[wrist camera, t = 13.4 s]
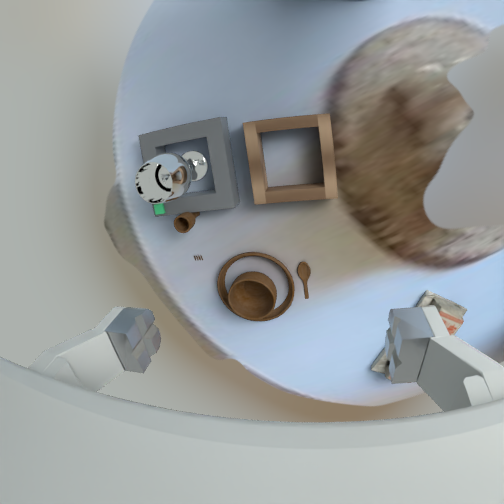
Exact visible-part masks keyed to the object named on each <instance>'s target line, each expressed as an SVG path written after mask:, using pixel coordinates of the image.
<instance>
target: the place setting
mask: <svg viewBox="0 0 504 504" xmlns="http://www.w3.org/2000/svg"><path fill="white" fill-rule="evenodd" d="M199 214H200V212H184V213H182V214H180V215H179V216H177V217H176V218H175V220H174V227H175V229H176V230H177V231H178V232H180V233H186V232H188V231H189V230H190V229H191V228H192V227H193V226H194V224H195V218H196V217H197V216H199ZM198 256H199V255H198ZM247 256H260V257H264V258H267V259H270V260H272V261H273V262H275V263H276V264H278V265H279V266H280V267H281V268H282V269H283V271H284V272H285V274H286V276H287V278H288V282H289V292H288V295H287V298H286V299H285V301H284V302H283V303H282V304H281V305H280V306H279V307H277V308H276V309H274V307H275V303H276V297H277V291H276V287H275V285H274V283H273V281H272V280H271V279H270V278H269V277H268V276H266V275H265V274H262V273H260V272H246V273H243V274H241V275H240V276H238V277H237V278H236V279H235V281H234V282H233V284H232V286H231V288H230V290H229V293H227V291H226V288H225V275H226V272H227V270H228V268H229V267H230V266H231V265H232V264H233V263H234V262H235V261H237V260H238V259H241V258H243V257H247ZM196 257H197V256H196ZM194 258H195V256H194ZM201 258H202V256H201ZM199 259H200V257H199ZM195 260H196V258H195ZM197 260H198V257H197ZM200 260H201V259H200ZM202 260H203V258H202ZM298 274H299V276H300V278H301V279H302V280H303V283H304V291H305V299H308V298H309V296H308V288H307V280H308V278H309V276H310V268H309V266H308V264H307V263H306V262H301V263H300V264H299V266H298ZM217 288H218V292H219V296H220V298H221V300H222V301H223V303H224V304H225V305H226V307H227V308H228V309H229V310H230V311H232V312H233V313H234V314H236V315H238V316H240V317H242V318H244V319H247V320H252V321H267V320H271V319H274V318H277V317H279V316H280V315H282V314H283V313H284V312H285V311H286V310H287V309H288V308H289V307H290V305H291V303H292V301H293V297H294V282H293V279H292V276H291V274H290V272H289V271H288V269H287V268H286V267H285V266H284V265H283V264H282V263H281V262H280V261H279V260H277V259H276V258H274V257H272V256H270V255H267V254H263V253H258V252H248V253H243V254H239V255H237V256H235V257H233V258H231V259H230V260H229V261H228V262H227V263H226V264H225V265H224V266H223V268H222V269H221V271H220V273H219V276H218V281H217ZM273 309H274V310H273Z"/></svg>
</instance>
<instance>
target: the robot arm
mask: <svg viewBox="0 0 504 504" xmlns="http://www.w3.org/2000/svg"><path fill="white" fill-rule="evenodd" d="M154 320H155V318H154V315H153V313H152V311H151V310H149V309H142V308H131V307H118V306H117V307H114V308H113V309H112V310H111V311H110V312H109V313H108V314H107V315H106V316H105V317H104V318H103V319H102V321H100V323H99V324H98V325H97V326H96V327H95V328H94V329H93V330H88V331H86V332H84V333H81V334H79V335H77V336H75V337H73V338H71V339H69V340H67V341H64V342H63V343H60V344H58V345H56V346H54V347H52V348H50V349H47V350H46V351H43V352H42V353H41V354H40V355H39V356H38V358H37V359H36V360H35V361H34V362H33V363H32V364H31V365H30V366H29V367H28V368H25V367H23V366H20V365H18V364H15V363H13V362H11V361H9V360H7V359H4V358H2V357H0V504H504V366H502V365H501V364H499V363H497V362H496V361H494V360H493V359H491V358H490V357H488V356H487V355H485V354H483V353H482V352H480V351H479V350H477V349H476V348H474V347H472V346H471V345H469V344H468V343H466V342H464V341H463V340H461V339H460V338H458V337H456V336H455V335H450V334H449V332H448V330H447V328H446V326H445V324H444V322H443V320H442V318H441V316H440V314H439V312H438V310H437V308H436V307H435V306H434V305H429V306H420V307H413V308H400V309H390V312H389V318H388V321H389V325H390V328H389V329H388V330H387V331H386V339H385V351H386V357H387V359H388V360H389V361H390V365H389V372H390V377H391V382H392V384H395V383H409V382H417V384H418V385H419V386H420V387H421V388H422V389H423V390H424V391H425V392H426V393H427V394H428V395H429V396H430V397H431V398H432V399H433V400H434V402H435V403H436V404H437V405H438V406H439V407H440V408H441V409H442V410H443V411H444V412H439V413H433V414H426V415H419V416H412V417H403V418H395V419H384V420H373V421H357V422H331V423H330V422H329V423H328V422H325V423H308V422H304V423H303V422H275V421H259V420H247V419H236V418H226V417H218V416H210V415H203V414H196V413H189V412H183V411H177V410H172V409H166V408H161V407H156V406H151V405H146V404H142V403H137V402H133V401H129V400H125V399H120V398H116V397H113V396H109V395H105V394H102V393H98V392H97V391H98V390H100V389H101V388H102V387H104V386H105V385H107V384H108V383H109V382H111V381H112V380H113V379H115V378H116V377H118V376H119V375H120V374H122V373H123V372H124V370H126V371H133V372H139V373H144V372H145V370H146V369H147V367H148V365H149V364H150V362H151V358H150V356H152V355H154V354H155V353H157V351H158V349H159V347H160V342H161V337H160V332H159V329H158V328H157V327H156V326H155V325H154V324H153V322H154Z"/></svg>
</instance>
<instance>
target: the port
mask: <svg viewBox="0 0 504 504" xmlns="http://www.w3.org/2000/svg"><path fill="white" fill-rule="evenodd" d="M202 137H207V143H208V149H209V155H210V161H211V167H212V173H213V179H214V185H215V190H207V191H199V192H192V193H185V194H183V195H182V196H181V197H180V198H178V199H176V200H174V201H171V202H168V203H162V204H152V205H153V209H154V214H155V217H157V216H165V215H174V214H182V213H184V212H200V211H209V210H219V209H229V208H235V207H236V206H237V205H238V204H239V202H240V200H239V194H238V187H237V181H236V175H235V168H234V162H233V155H232V149H231V143H230V136H229V130H228V123H227V117H218V118H213V119H208V120H203V121H198V122H193V123H188V124H183V125H179V126H175V127H170V128H166V129H162V130H158V131H154V132H150V133H146V134H142V135H139V140H140V146H141V151H142V157H143V162H144V163H145V162H146V161H148V160H149V159H150V158H152V157H154V156H156V155H158V154H161V153H166V152H165V146H164V145H167V144H172V143H177V142H182V141H187V140H192V139H197V138H202Z"/></svg>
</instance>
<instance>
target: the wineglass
mask: <svg viewBox="0 0 504 504" xmlns="http://www.w3.org/2000/svg"><path fill="white" fill-rule="evenodd" d="M207 169H208V163H207V160H206V158H205V157H204V155H203V154H201V153H200V152H198V151H188V152H186V153H184V154H183V155H182V156H180V155H178V154H175V153H161V154H158V155H156V156H154V157H152V158H150V159H149V160H148V161H146V162H145V163H144V164H143V165H142V166H141V167H140V168H139V170H138V172H137V174H136V178H135V185H136V189H137V192H138V194H139V195H140V196H141V198H143V199H144V200H145V201H147V202H149V203H152V204H162V203H168V202H171V201H174V200H176V199H178V198H180V197H181V196H182V195H183V194H184V193H185V192H186V191H187V190H188V188H189V186H190V184H191V181H198V180H200V179H202V178H203V177H204V176H205V174H206V173H207Z"/></svg>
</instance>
